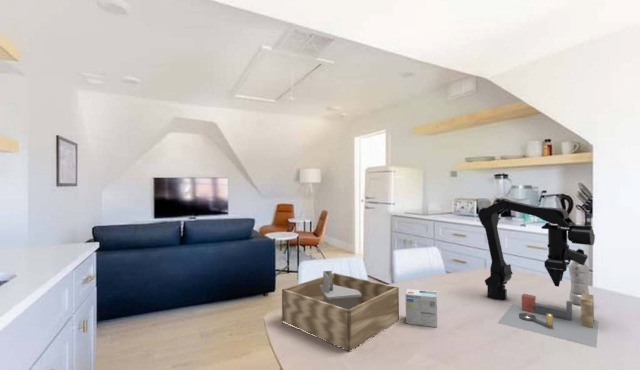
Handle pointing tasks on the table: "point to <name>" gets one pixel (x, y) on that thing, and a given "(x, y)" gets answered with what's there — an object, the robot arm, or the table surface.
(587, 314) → the tan rectangular block
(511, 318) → the board
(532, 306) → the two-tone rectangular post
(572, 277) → the plastic bottle
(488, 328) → the table surface
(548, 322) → the metal measuring spoon
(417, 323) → the light bulb box
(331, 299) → the architectural model
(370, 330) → the wooden crate
